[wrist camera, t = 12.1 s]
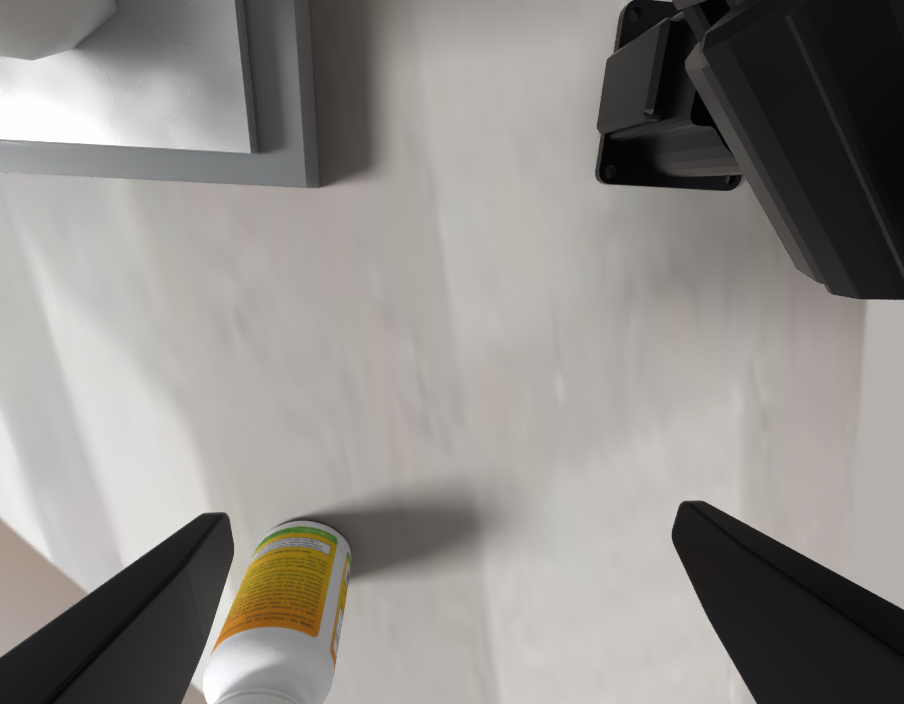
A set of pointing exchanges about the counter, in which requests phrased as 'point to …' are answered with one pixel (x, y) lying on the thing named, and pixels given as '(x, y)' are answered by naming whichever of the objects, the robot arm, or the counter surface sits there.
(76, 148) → the scale
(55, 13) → the salt shaker
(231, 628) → the supplement bottle
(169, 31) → the scale pan
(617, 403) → the counter surface
